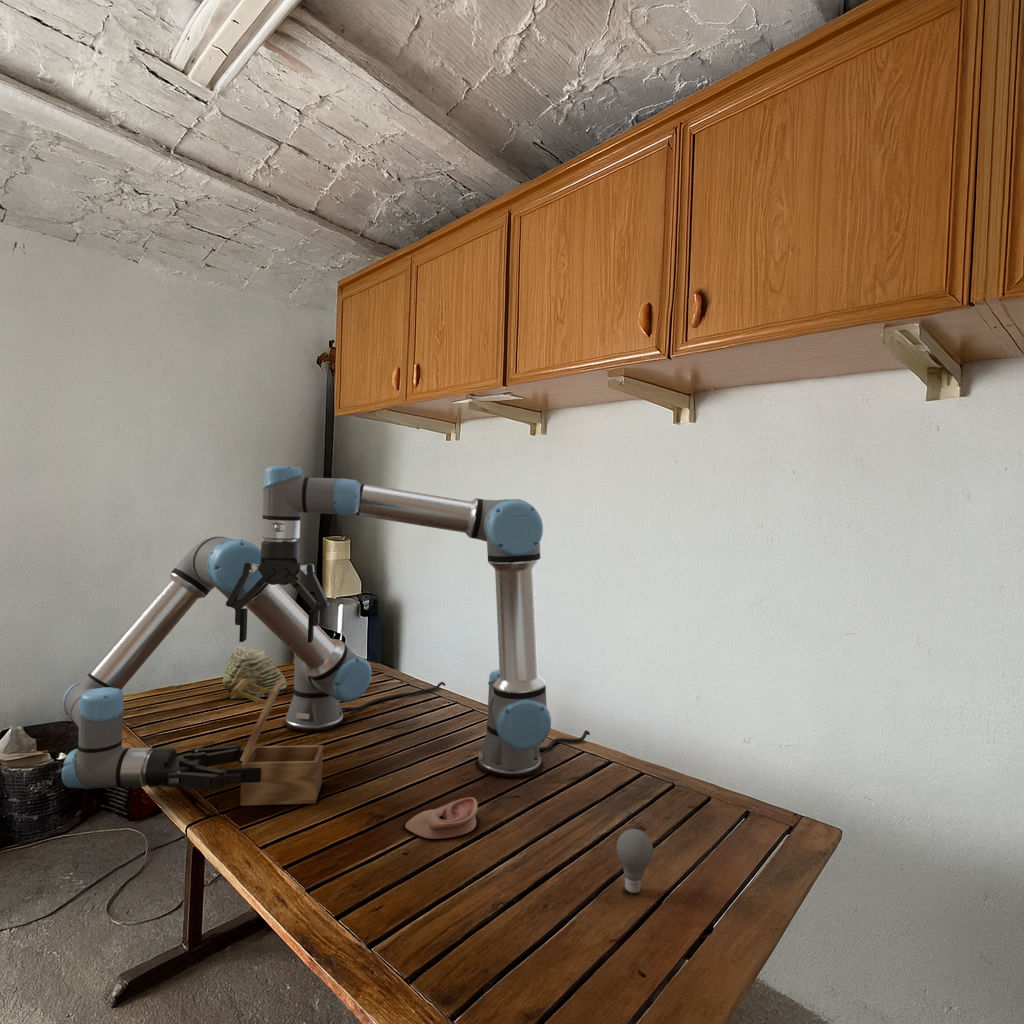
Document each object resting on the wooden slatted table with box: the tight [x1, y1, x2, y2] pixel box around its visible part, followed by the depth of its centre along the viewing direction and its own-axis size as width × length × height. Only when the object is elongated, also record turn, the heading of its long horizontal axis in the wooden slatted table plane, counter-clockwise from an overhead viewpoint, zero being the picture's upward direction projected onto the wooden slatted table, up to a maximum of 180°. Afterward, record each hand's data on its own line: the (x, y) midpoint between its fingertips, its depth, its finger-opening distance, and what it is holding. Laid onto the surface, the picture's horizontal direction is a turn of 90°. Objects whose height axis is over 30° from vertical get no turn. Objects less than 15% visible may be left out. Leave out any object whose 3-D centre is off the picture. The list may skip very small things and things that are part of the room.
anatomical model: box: [404, 796, 479, 840], centre depth 124 cm, size 13×4×12 cm
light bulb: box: [615, 828, 654, 894], centre depth 106 cm, size 6×6×10 cm
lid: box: [231, 678, 284, 762], centre depth 132 cm, size 15×9×8 cm
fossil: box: [222, 646, 288, 699], centre depth 198 cm, size 9×18×15 cm, turn 132°
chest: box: [239, 744, 324, 807], centre depth 134 cm, size 15×9×9 cm, turn 99°
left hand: (265, 765), depth 133 cm, fingers closed on chest, 9 cm apart
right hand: (276, 641), depth 133 cm, fingers open, 13 cm apart
